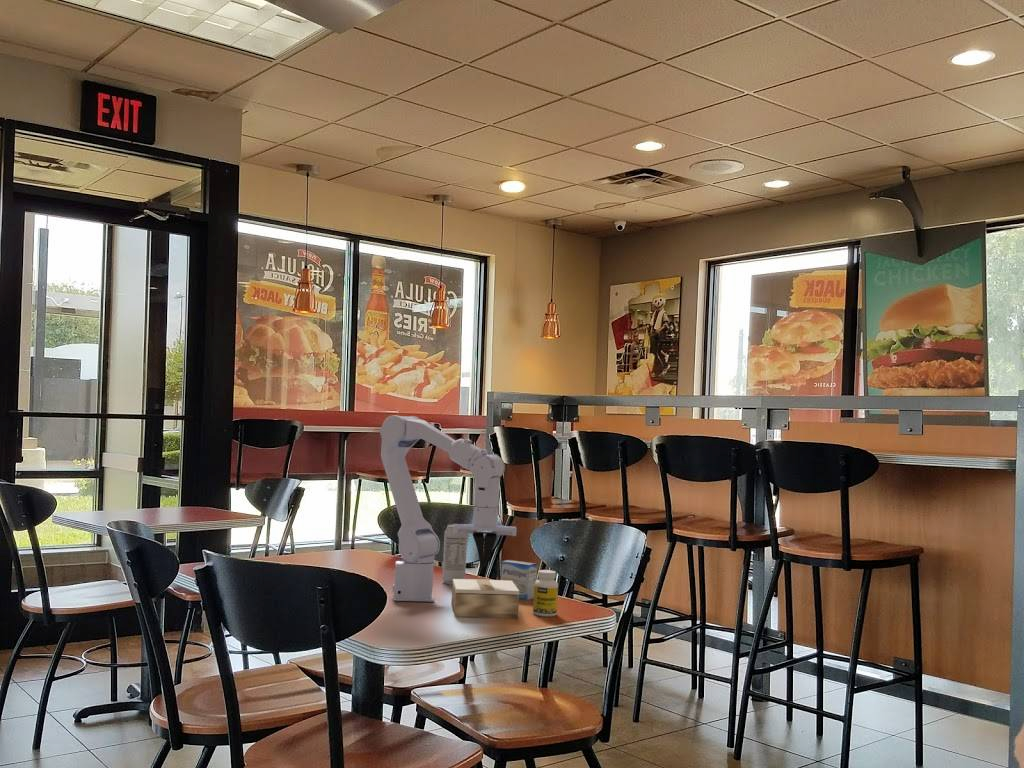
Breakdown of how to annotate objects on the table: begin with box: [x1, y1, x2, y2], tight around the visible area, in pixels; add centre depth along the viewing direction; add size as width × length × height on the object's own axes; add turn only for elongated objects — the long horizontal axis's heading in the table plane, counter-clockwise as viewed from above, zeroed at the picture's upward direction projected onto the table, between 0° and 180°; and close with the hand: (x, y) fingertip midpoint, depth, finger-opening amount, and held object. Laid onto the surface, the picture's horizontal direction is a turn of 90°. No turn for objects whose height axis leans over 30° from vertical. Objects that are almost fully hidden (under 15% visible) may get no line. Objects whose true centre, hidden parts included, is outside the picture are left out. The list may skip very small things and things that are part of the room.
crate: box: [450, 582, 520, 619], centre depth 215 cm, size 14×14×5 cm
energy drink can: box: [441, 524, 468, 585], centre depth 249 cm, size 6×6×15 cm
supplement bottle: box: [532, 569, 559, 617], centre depth 214 cm, size 5×5×10 cm
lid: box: [453, 578, 519, 595], centre depth 215 cm, size 14×14×1 cm
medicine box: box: [500, 559, 538, 601], centre depth 234 cm, size 8×4×9 cm, turn 62°
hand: (482, 565), depth 217 cm, fingers closed
